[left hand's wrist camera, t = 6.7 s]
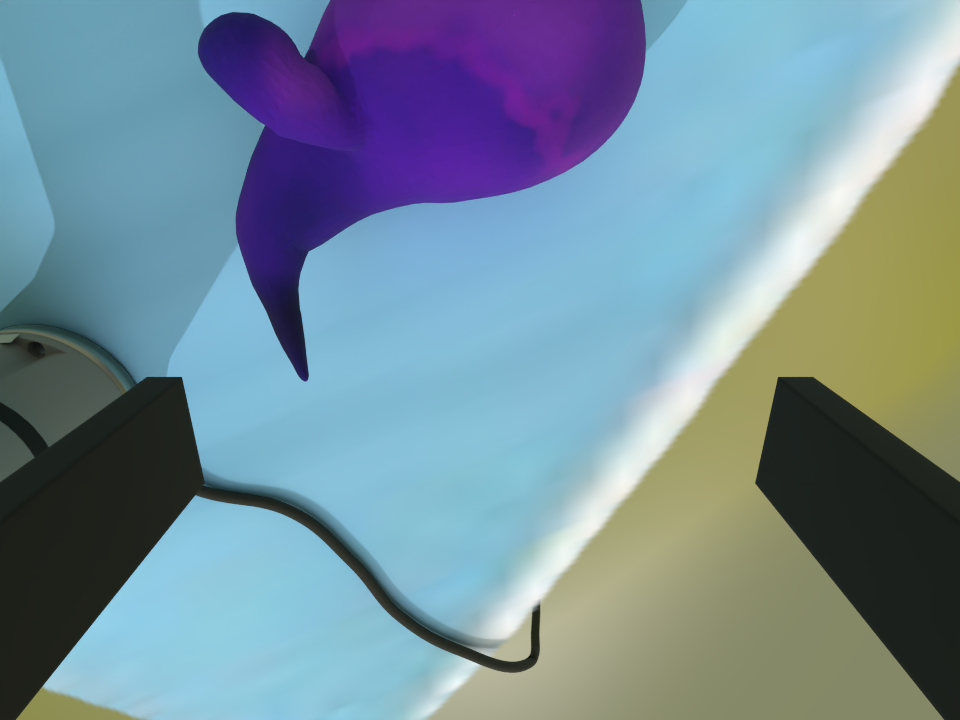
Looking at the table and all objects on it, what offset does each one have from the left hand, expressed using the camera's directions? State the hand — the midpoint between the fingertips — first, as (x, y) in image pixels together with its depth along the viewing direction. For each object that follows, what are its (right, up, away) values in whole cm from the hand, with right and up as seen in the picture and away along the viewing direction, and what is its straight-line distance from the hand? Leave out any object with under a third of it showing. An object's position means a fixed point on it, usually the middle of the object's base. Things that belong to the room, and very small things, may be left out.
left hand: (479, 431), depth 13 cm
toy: (-4, +18, +28) cm, 33 cm away
